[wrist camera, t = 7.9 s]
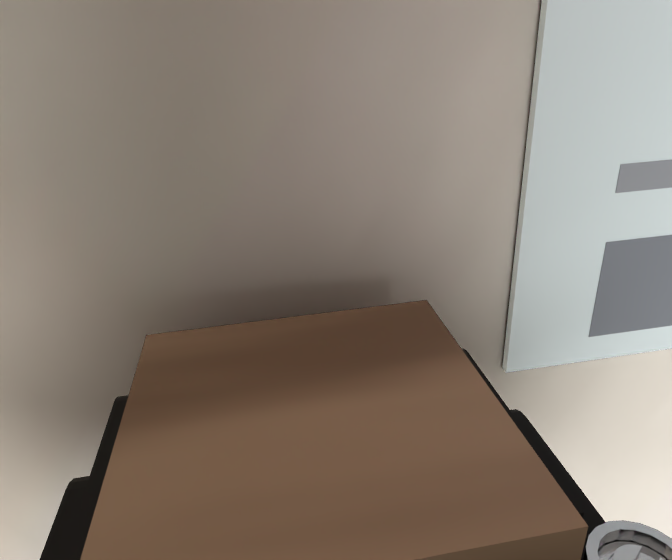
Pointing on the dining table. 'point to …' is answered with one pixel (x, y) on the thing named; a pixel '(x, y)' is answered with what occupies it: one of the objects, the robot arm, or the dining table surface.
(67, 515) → the robot arm
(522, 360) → the letter
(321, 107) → the dining table surface
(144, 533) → the walnut cube
